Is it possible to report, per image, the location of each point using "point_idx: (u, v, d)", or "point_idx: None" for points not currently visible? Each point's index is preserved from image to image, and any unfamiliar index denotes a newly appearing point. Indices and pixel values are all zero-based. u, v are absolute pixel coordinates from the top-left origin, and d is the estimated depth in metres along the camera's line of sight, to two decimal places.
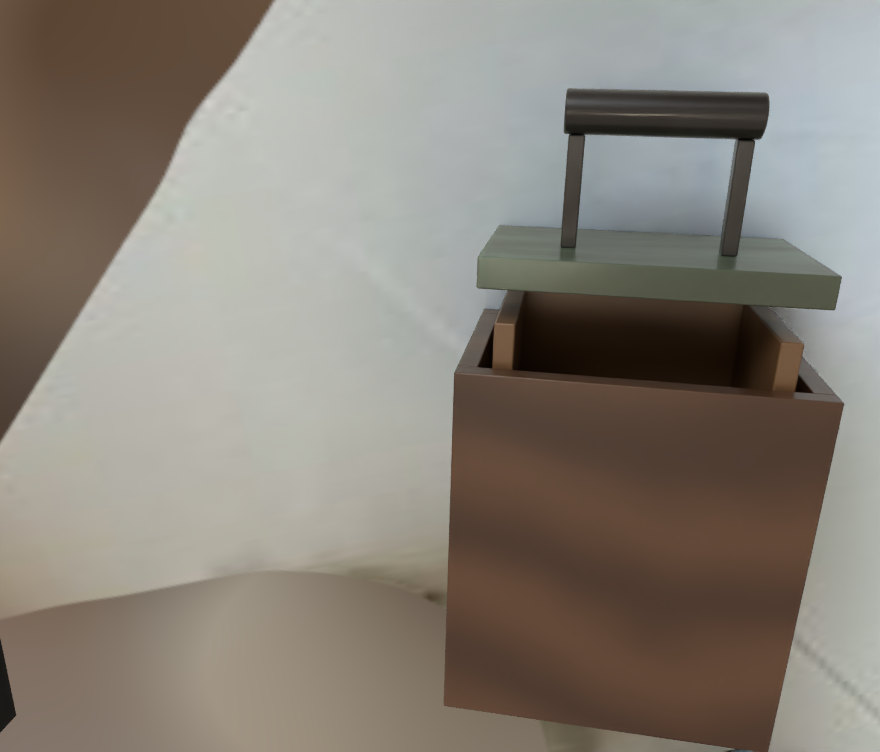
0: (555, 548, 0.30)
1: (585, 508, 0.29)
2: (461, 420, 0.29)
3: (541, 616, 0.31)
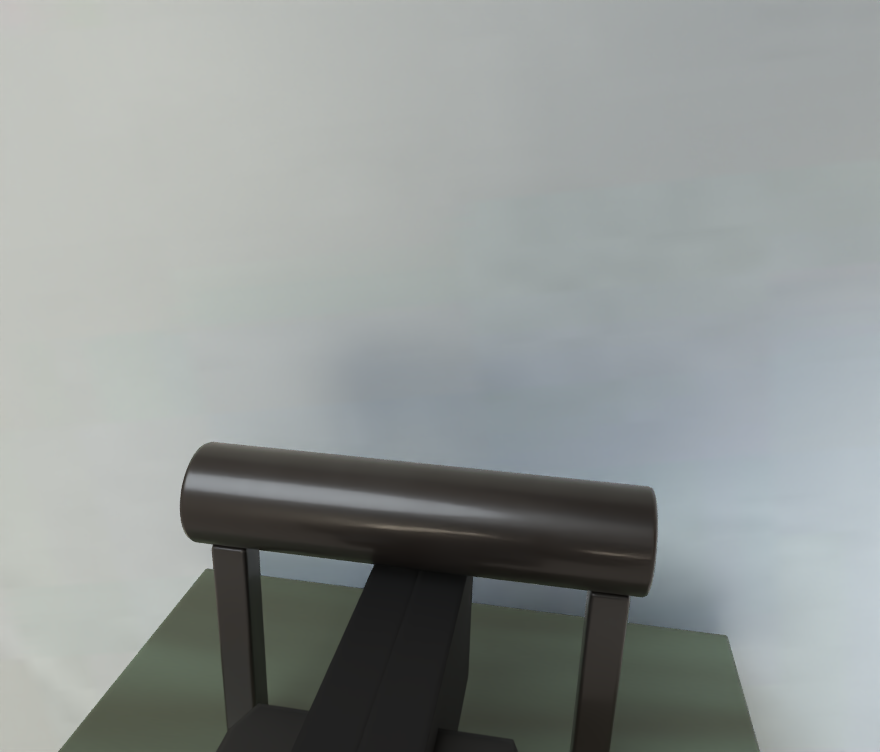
0: None
1: None
2: None
3: None
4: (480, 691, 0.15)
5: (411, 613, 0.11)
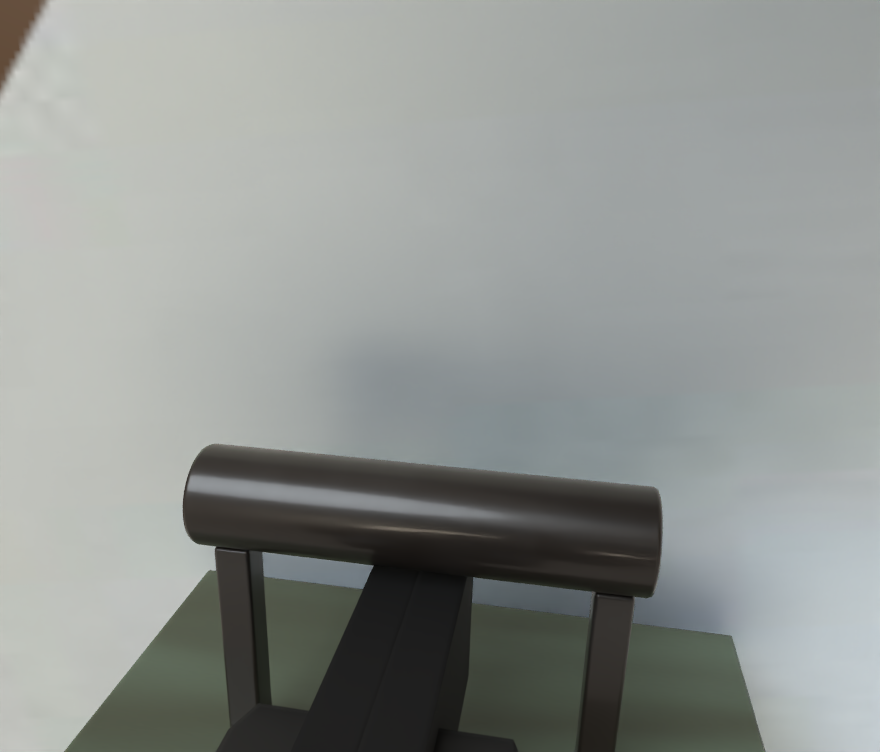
0: None
1: None
2: None
3: None
4: (484, 692, 0.15)
5: (411, 613, 0.11)
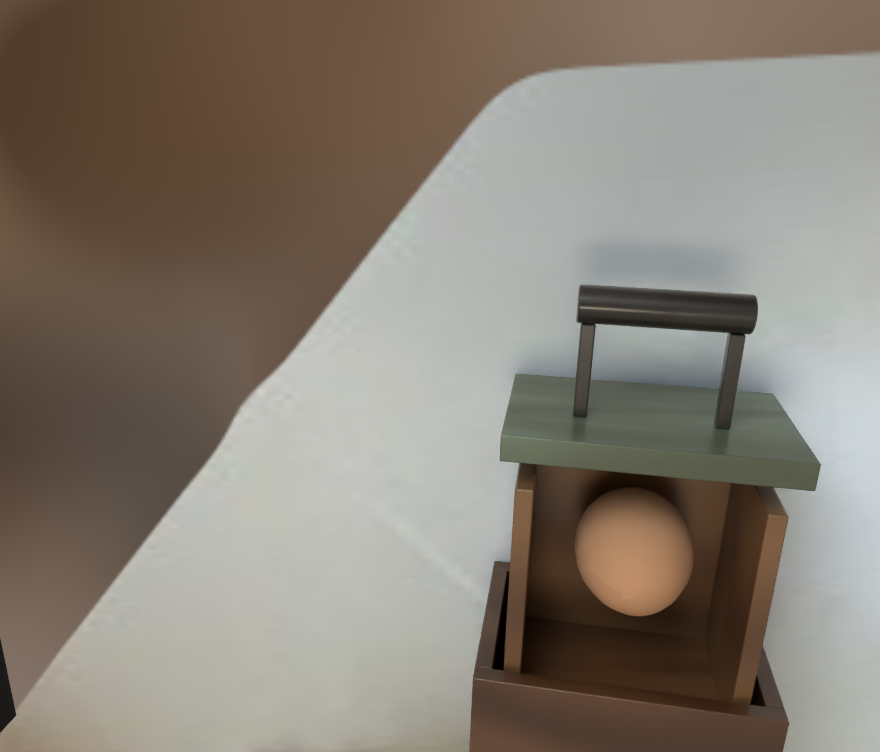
0: None
1: None
2: (478, 712, 0.35)
3: None
4: (668, 405, 0.35)
5: None
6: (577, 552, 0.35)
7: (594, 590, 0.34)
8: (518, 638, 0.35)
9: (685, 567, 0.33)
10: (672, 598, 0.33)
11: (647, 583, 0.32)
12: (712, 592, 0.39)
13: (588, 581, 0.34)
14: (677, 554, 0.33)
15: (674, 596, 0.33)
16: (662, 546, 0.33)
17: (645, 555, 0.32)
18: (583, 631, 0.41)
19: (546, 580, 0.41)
